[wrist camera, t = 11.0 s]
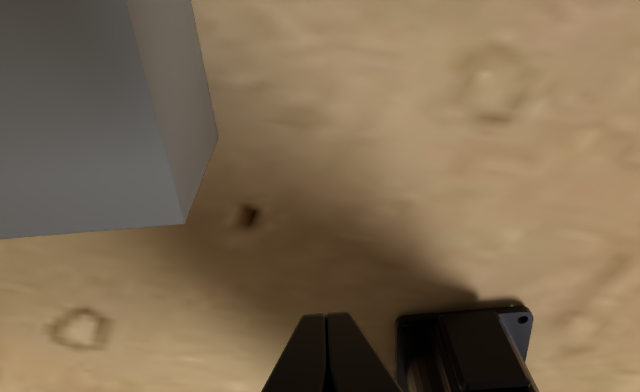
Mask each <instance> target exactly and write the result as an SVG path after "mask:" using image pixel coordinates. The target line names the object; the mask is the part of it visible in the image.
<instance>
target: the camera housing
mask: <svg viewBox="0 0 640 392" xmlns="http://www.w3.org/2000/svg"><path fill="white" fill-rule="evenodd" d="M217 140H218V134H217V129H216V124H215V119H214V114H213V109H212V104H211V99H210V94H209V89H208V84H207V79H206V74H205V69H204V64H203V59H202V54H201V49H200V44H199V39H198V34H197V29H196V24H195V19H194V14H193V9H192V4H191V0H0V239H9V238H21V237H33V236H45V235H57V234H69V233H81V232H93V231H106V230H118V229H130V228H142V227H154V226H166V225H178V224H185V221H186V219H187V216H188V214H189V211H190V209H191V206H192V204H193V201H194V199H195V196H196V194H197V191H198V189H199V186H200V183H201V181H202V178H203V176H204V173H205V171H206V168H207V166H208V163H209V161H210V158H211V156H212V153H213V151H214V148H215V145H216V143H217Z"/></svg>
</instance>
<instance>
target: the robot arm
mask: <svg viewBox="0 0 640 392" xmlns="http://www.w3.org/2000/svg"><path fill="white" fill-rule="evenodd" d="M521 316H523V317H521ZM519 317H520V318H519ZM532 324H533V315H532V313H531V312H530V310H529V309H528V308H527V307H525V306H516V307H503V308H491V309H478V310H465V311H453V312H440V313H428V314H415V315H404V316H401V317H399V318H398V319H397V320H396V323H395V379H394V377H393V376H392V374H391V373H390V371H389V370H388V368H387V367H386V365H385V364H384V362H383V361H382V360H381V358H380V357H379V355H378V354H377V352H376V351H375V349H374V348H373V346H372V345H371V343H370V342H369V340H368V339H367V337H366V336H365V334H364V333H363V331H362V330H361V328H360V327H359V325H358V324H357V322H356V321H355V319H354V318H353V317H352V315H351V314H350V313H349V312H332V313H328V314H327V316H325V314H323V313H319V314H306V315H304V316H302V318H301V319H300V321H299V323H298V325H297V327H296V328H295V330H294V332H293V334H292V336H291V338H290V339H289V341H288V343H287V345H286V347H285V349H284V351H283V352H282V354H281V356H280V358H279V360H278V362H277V363H276V365H275V367H274V369H273V371H272V373H271V375H270V376H269V378H268V380H267V382H266V384H265V386H264V387H263V389H262V391H261V392H539V390H538V388H537V386H536V384H535V382H534V380H533V378H532V376H531V374H530V372H529V370H528V368H527V366H526V364H525V360H526V355H527V350H528V345H529V339H530V334H531V329H532ZM405 325H409V326H407V327H403V326H405Z"/></svg>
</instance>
